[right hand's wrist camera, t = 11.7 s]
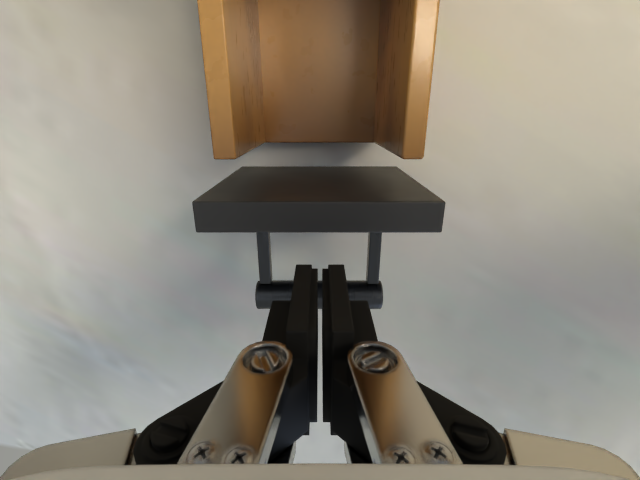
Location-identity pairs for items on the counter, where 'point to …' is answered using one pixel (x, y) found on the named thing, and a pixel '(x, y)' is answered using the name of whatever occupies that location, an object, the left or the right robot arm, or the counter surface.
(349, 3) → the drawer
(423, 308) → the counter surface
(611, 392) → the counter surface
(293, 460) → the right robot arm
